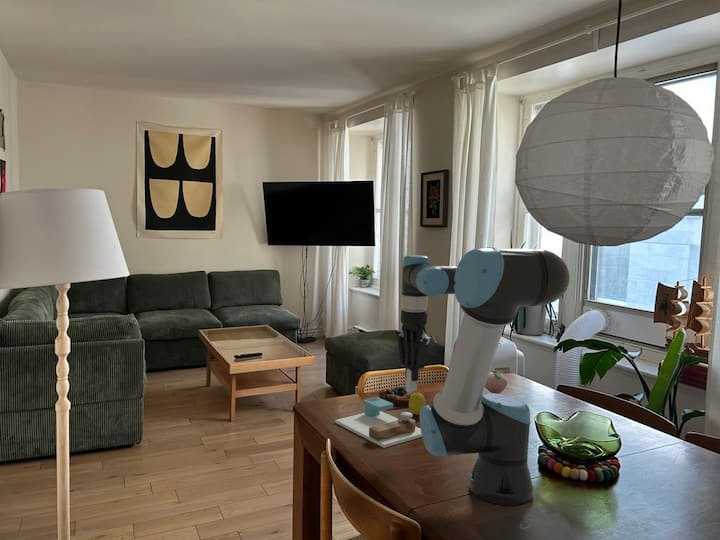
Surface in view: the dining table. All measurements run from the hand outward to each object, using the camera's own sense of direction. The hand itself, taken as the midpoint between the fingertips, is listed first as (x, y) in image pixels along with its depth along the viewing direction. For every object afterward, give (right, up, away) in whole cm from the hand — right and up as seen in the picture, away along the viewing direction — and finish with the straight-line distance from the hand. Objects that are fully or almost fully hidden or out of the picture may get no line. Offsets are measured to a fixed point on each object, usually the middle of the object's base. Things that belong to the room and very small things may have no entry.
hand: (411, 390), depth 166 cm
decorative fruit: (+36, -13, +52) cm, 65 cm away
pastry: (-2, -13, +40) cm, 42 cm away
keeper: (-9, -14, +22) cm, 28 cm away
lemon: (+4, -14, +28) cm, 32 cm away
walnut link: (-5, -14, +8) cm, 17 cm away
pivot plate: (-8, -15, +14) cm, 22 cm away
